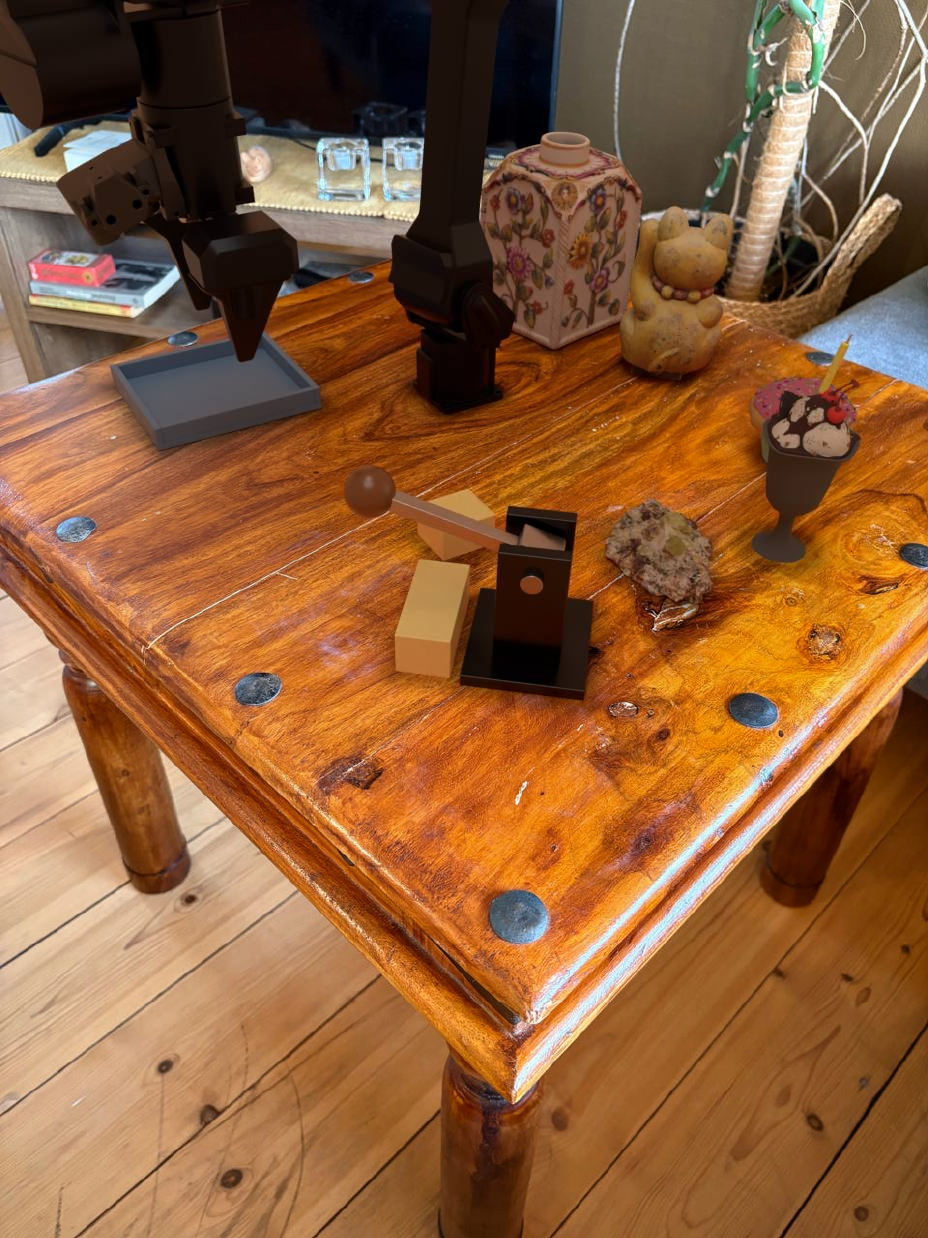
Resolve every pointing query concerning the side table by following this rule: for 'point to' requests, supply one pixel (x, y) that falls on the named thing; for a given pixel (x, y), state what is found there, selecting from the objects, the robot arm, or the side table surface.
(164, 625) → the side table surface
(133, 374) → the dish
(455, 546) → the butter pat
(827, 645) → the side table surface
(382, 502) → the lever
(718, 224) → the decorative figurine
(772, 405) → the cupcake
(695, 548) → the mineral rock
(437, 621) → the tan rectangular block
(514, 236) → the decorative jar
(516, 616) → the slicer
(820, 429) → the sundae
